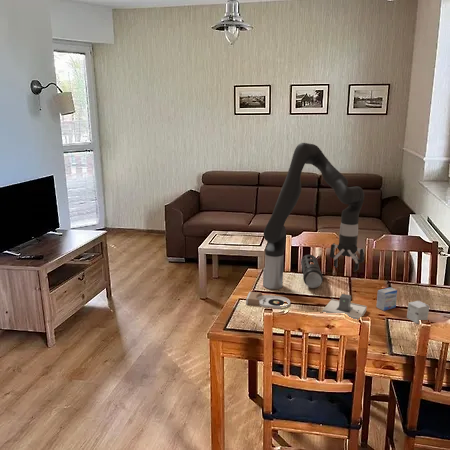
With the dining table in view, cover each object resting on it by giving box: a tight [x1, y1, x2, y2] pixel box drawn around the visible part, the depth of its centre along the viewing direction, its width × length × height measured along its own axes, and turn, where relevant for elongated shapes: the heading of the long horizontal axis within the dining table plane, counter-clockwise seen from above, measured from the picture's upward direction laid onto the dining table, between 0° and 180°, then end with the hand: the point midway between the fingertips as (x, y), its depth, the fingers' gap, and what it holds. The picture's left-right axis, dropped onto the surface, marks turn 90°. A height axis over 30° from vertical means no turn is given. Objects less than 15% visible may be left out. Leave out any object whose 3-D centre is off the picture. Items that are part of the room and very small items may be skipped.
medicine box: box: [376, 286, 398, 312], centre depth 204 cm, size 8×4×9 cm, turn 117°
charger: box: [339, 293, 352, 313], centre depth 199 cm, size 4×4×8 cm
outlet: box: [321, 298, 368, 320], centre depth 200 cm, size 16×14×2 cm
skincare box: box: [406, 300, 430, 324], centre depth 193 cm, size 6×6×7 cm
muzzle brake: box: [300, 254, 324, 289], centre depth 237 cm, size 10×28×10 cm, turn 174°
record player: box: [245, 291, 291, 309], centre depth 211 cm, size 12×3×20 cm
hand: (345, 269), depth 196 cm, fingers open, 8 cm apart
